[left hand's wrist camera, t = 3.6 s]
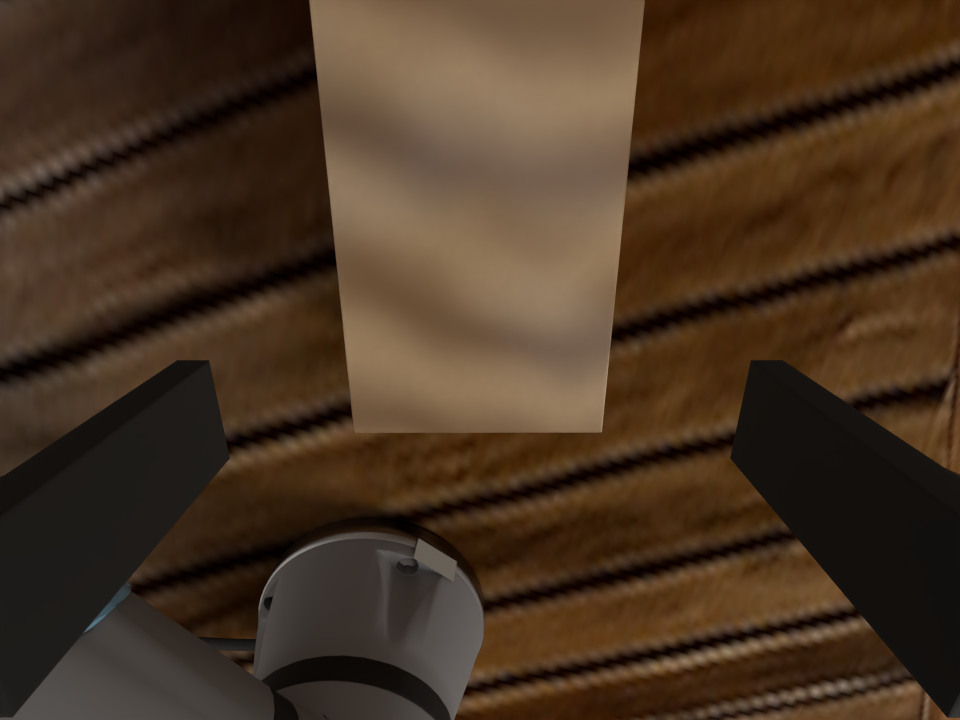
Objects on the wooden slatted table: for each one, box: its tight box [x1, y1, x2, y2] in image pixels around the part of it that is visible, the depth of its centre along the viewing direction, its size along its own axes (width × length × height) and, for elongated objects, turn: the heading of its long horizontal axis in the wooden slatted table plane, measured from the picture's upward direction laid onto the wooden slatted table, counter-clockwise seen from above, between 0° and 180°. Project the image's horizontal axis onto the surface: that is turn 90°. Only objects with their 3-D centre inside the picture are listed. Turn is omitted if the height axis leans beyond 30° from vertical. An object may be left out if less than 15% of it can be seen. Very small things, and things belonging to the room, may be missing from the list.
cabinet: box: [309, 0, 645, 433], centre depth 21 cm, size 21×10×9 cm, turn 0°
